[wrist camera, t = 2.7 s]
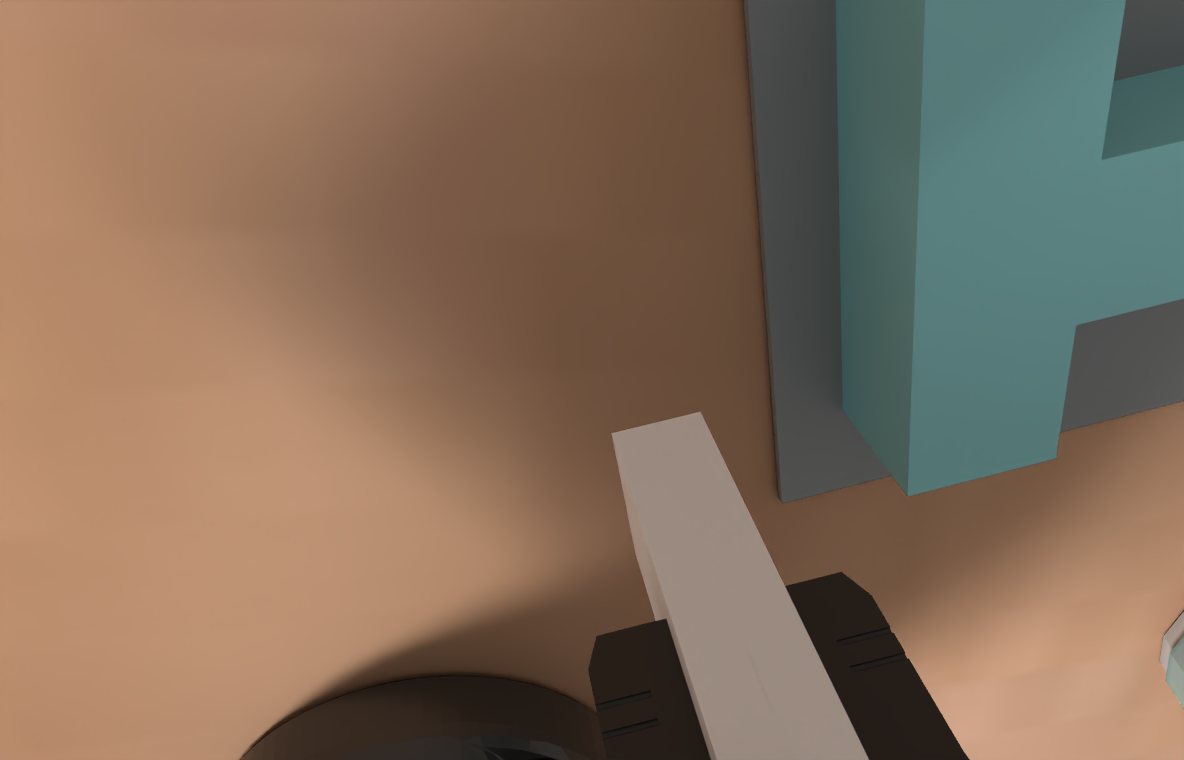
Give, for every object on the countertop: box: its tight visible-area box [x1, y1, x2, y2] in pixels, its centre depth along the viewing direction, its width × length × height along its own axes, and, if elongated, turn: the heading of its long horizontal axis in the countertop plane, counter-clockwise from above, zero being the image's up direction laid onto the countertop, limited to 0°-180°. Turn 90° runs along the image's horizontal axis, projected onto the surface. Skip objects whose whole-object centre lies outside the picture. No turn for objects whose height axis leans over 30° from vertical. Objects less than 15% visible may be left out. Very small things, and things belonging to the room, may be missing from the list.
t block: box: [836, 0, 1184, 496], centre depth 21 cm, size 12×12×4 cm
